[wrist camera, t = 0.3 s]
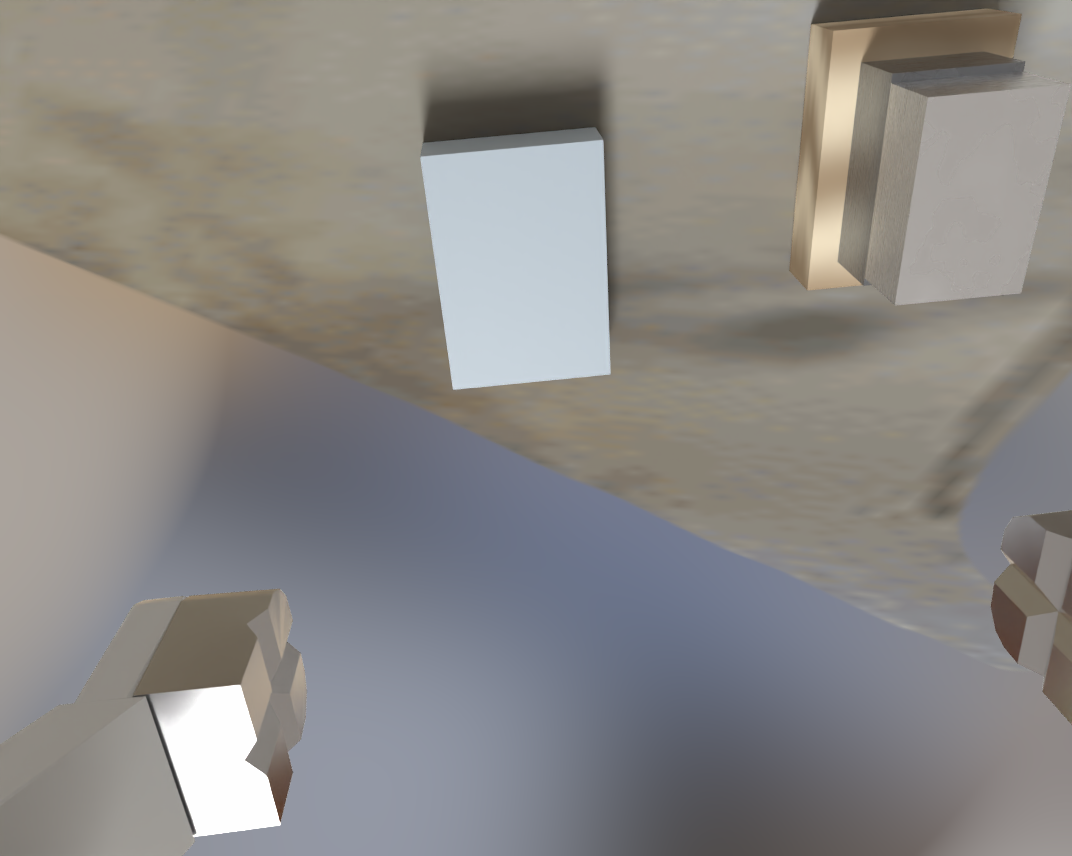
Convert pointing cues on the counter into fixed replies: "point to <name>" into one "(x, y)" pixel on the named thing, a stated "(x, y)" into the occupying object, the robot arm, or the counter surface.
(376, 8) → the counter surface
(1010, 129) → the block
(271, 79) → the counter surface
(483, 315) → the stand
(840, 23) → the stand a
